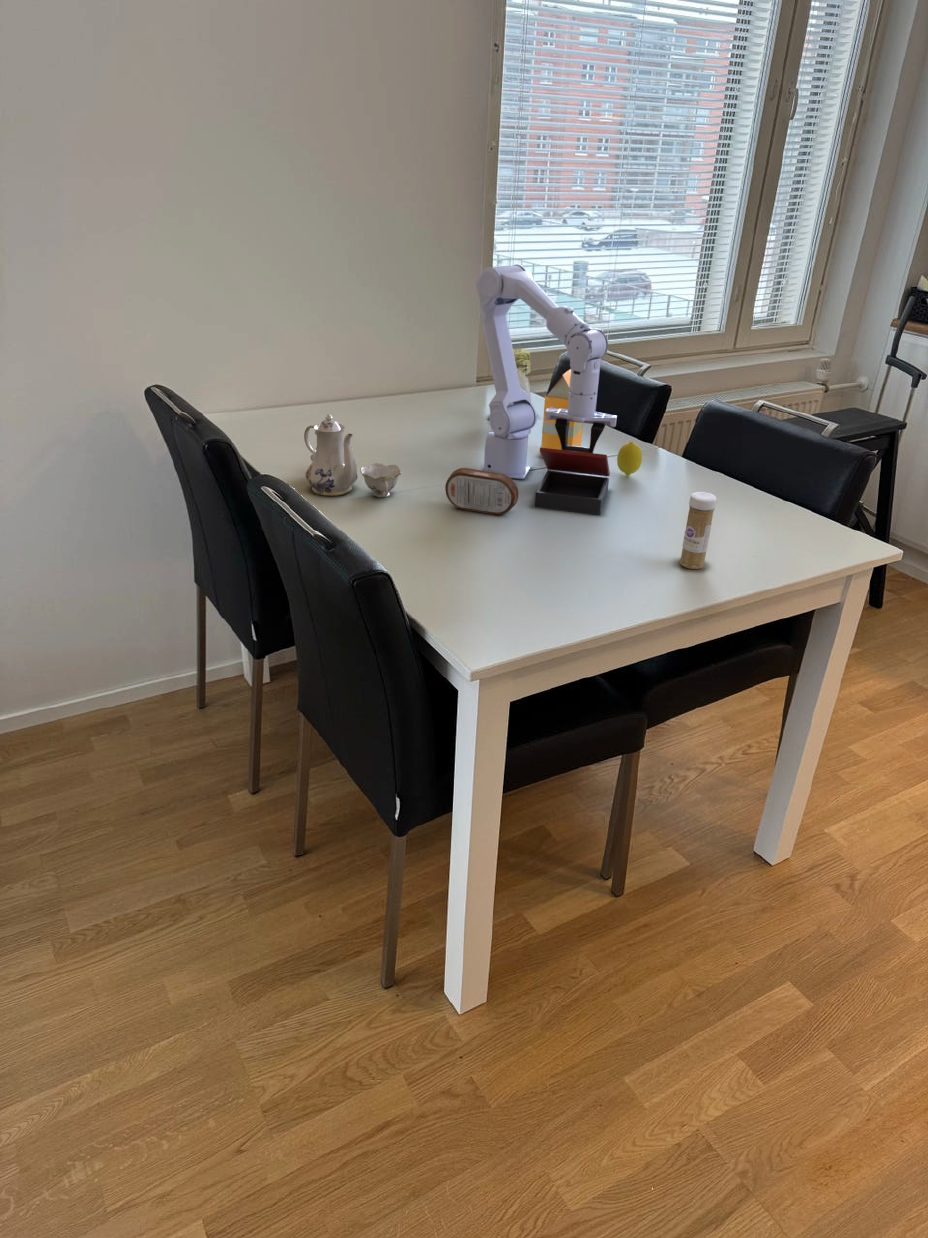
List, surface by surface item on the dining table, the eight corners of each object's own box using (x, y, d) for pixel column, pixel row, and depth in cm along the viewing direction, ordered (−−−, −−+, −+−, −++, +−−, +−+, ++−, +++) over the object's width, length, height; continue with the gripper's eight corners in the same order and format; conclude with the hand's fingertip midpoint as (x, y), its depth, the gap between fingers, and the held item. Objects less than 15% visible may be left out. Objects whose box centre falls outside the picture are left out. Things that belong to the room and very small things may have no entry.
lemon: (639, 480, 206) (643, 446, 202) (614, 478, 207) (618, 444, 203) (640, 472, 211) (644, 439, 207) (615, 470, 211) (619, 436, 208)
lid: (606, 458, 182) (609, 439, 183) (539, 451, 185) (542, 432, 185) (609, 476, 197) (611, 459, 198) (547, 469, 200) (549, 452, 200)
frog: (546, 418, 247) (552, 349, 238) (518, 427, 238) (523, 356, 230) (511, 409, 254) (516, 341, 245) (482, 418, 245) (486, 348, 236)
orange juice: (539, 457, 218) (546, 372, 209) (550, 446, 225) (557, 364, 216) (571, 461, 216) (579, 376, 206) (581, 451, 223) (589, 368, 213)
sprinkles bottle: (674, 564, 167) (685, 495, 160) (686, 557, 170) (698, 489, 163) (697, 572, 164) (709, 502, 158) (709, 564, 167) (721, 495, 161)
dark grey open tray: (599, 515, 187) (601, 500, 185) (534, 507, 190) (535, 492, 188) (607, 491, 199) (609, 476, 198) (546, 483, 202) (547, 469, 200)
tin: (517, 513, 186) (520, 474, 182) (513, 519, 183) (515, 479, 179) (448, 502, 190) (449, 464, 186) (443, 508, 187) (443, 468, 183)
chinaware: (415, 501, 194) (421, 423, 188) (355, 513, 183) (360, 431, 176) (330, 468, 211) (333, 396, 204) (270, 478, 199) (272, 401, 192)
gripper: (544, 393, 184) (539, 457, 190) (616, 400, 181) (609, 465, 187) (550, 384, 190) (545, 448, 196) (620, 391, 187) (613, 455, 193)
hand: (577, 456), depth 192 cm, fingers closed on lid, 5 cm apart
